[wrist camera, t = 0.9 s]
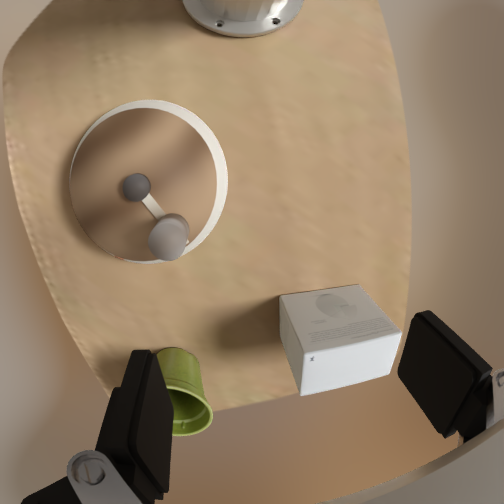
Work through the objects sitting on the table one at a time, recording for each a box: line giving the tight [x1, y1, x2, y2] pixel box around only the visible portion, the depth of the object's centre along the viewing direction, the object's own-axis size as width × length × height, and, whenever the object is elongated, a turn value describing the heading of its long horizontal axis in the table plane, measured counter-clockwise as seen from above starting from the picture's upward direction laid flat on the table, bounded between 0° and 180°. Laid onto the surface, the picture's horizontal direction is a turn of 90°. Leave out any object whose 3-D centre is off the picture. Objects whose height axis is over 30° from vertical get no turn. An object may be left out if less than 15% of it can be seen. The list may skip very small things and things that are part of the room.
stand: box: [69, 100, 228, 264], centre depth 26 cm, size 16×16×2 cm
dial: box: [70, 108, 217, 261], centre depth 23 cm, size 14×14×5 cm
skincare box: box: [279, 284, 402, 396], centre depth 31 cm, size 10×6×10 cm, turn 93°
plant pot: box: [157, 348, 213, 436], centre depth 32 cm, size 9×9×9 cm
